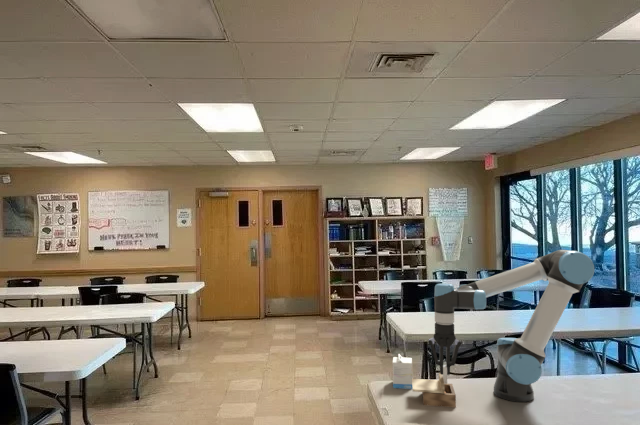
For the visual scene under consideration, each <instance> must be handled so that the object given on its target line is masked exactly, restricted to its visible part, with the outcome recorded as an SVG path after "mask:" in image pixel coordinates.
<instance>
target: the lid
mask: <svg viewBox="0 0 640 425" xmlns="http://www.w3.org/2000/svg"><path fill="white" fill-rule="evenodd" d="M412 388H413V389H412V392H416V393H422V392H429V393H444V394H445V388H444V380H443V374H440V372H438V379H425V378H424V379H423V378H413V379H412Z"/></svg>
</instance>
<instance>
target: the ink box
mask: <svg viewBox="0 0 640 425" xmlns="http://www.w3.org/2000/svg"><path fill="white" fill-rule="evenodd" d="M397 356H398V357H397ZM397 356H393V357H392V388H393V389H404V390H405V389H406V390H413V388H412V379H414V378H413V358H412V357H406V356H405V357H404V356H402V355H401V354H400V353H398V355H397Z"/></svg>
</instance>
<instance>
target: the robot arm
mask: <svg viewBox="0 0 640 425" xmlns="http://www.w3.org/2000/svg"><path fill="white" fill-rule="evenodd" d="M594 274H595V265H594V263H593V260H592V259H591V258H590V256H588V255H587V254H585V253H583V252H581V251H578V250H569V249H558V250H555V251H553V252H551V253H548V254H545V255H543V256H539V257H537V258H535V259H534V261H533V262H529V263H527V264H525V265H520V266H518V267H515V268H511V269H508V270H505V271H503V272H500V273H497V274H494V275H492V276H489V277H486V278H482V279H479V280H477V281H474V282H471V283H468V284H465V283H464V284H461V285H459V286H458V287H457V289H456V288H455V286H454V284H451V283H445V282H443V283H441V282H440V283H436V284H435V286H434V294H433V295H434V298H433V299H434V335H433V337H431V338H428V340H427V341H428V344H429V345H430V346H431V351H432V355H433V358H434V363H435V365H437V366H439V373H440V374H442V376H443V380H444V384H447V383H448V375H449V376H450V374H451V367H452V366H455V365H456V361H457V357H458V353H459V348H460V346H462V341H461V340H460V339H457V337H456V335H455V324H454V323H455V309H463V310H465V309H466V310H476V311H478V310H484V309H486V308H487V298H489V297H492V296H495V295H498V294H501V293H503V292H504V293H505V292H507V291H511V290H513V289H516V288H519V287H523V286H526V285H529V284H532V283H534V282H535V283H536V282H538V281H541V280H542V281H544V282H547V281H548V284H547V286H546V288H545V289H544V291H543V294H542V296H541V298H540V300H539V301H538V303H537V305H536V307H535V309H534V312H533V313H532V315H531V317H530V319H529V321H528V323H527V325H526V327H525V329H524V331H523V332H522V334H521V336H520V337H518V338H516V337H499V338H498V339H497V341H496V347H497V348H496V351H497V353H496V354H497V358H496V359H497V376H496V379H495V381H494V384H493V393H494V395H495V396H496V397H498V398H501V399H503V400H506V401H511V402H516V403H517V402H519V403H521V402H522V403H525V402H530V401H533V400H534V398H535V393H534V389H533V386H532V384H534V383H537V382H538V381H539V379H541V377H542V374H543V367H542V364H543V362H544V360H545V358H546V353H545V348H546V346H547V344H548V342H549V340H550V338H551V337H552V334H553V332H554V330H555V329H556V326H557V325H558V323H559V321H560V319H561V317H562V315H563V314H564V312H565V309H566V307H568V306H567V305H568V304H569V302H570V300H571V298H572V296H573V294H576V293H580V291H581V289H582V287H583V285H584V284H586V283H588V282H589V281H590V280H591V279H592V278H593V276H594ZM435 341H436V344H437V345H438V346H439V347H438V348H439V359H438V355H437V352H436V348H435ZM453 344H454V348H453V352H452V356H451V346H452V345H453ZM444 348H445V357H446V360H445V364H444Z"/></svg>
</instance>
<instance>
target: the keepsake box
mask: <svg viewBox="0 0 640 425" xmlns="http://www.w3.org/2000/svg"><path fill="white" fill-rule="evenodd" d="M444 388H445V392H446V393H445V394H444V393H429V392H421V393H422V394H421V395H422V402H423V406H431V407H433V406H434V407H445V408H446V407H447V408H457V400H456V399H457V397H456V396H457V395H456V392H455V389H454V385H453V383H448V382H447V384H444Z"/></svg>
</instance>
